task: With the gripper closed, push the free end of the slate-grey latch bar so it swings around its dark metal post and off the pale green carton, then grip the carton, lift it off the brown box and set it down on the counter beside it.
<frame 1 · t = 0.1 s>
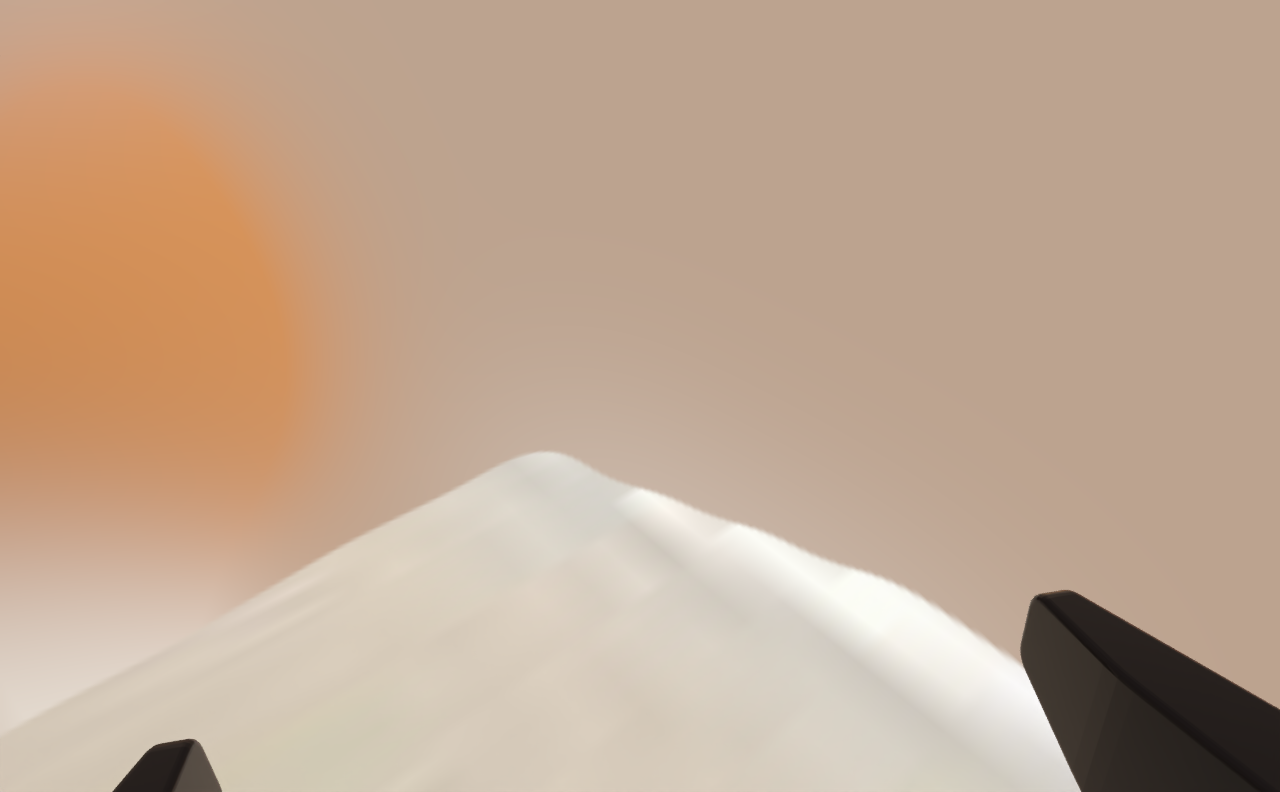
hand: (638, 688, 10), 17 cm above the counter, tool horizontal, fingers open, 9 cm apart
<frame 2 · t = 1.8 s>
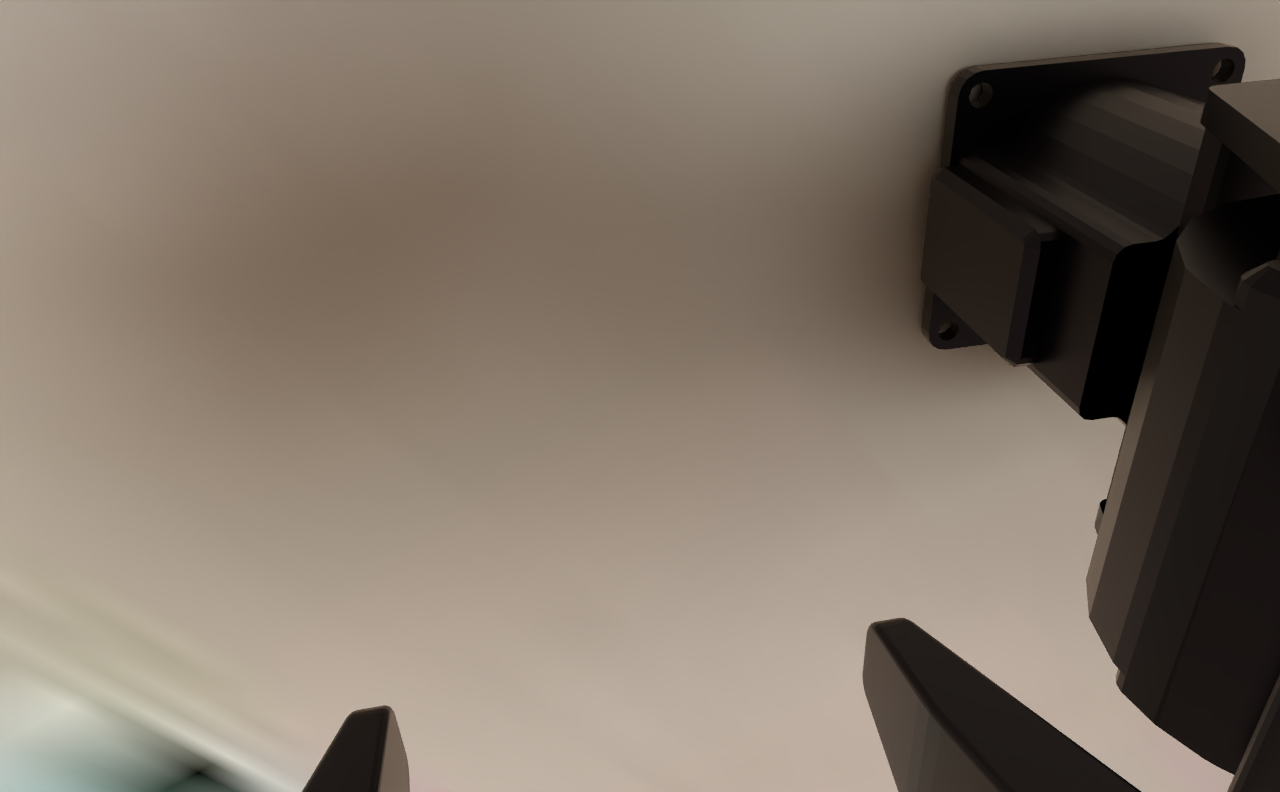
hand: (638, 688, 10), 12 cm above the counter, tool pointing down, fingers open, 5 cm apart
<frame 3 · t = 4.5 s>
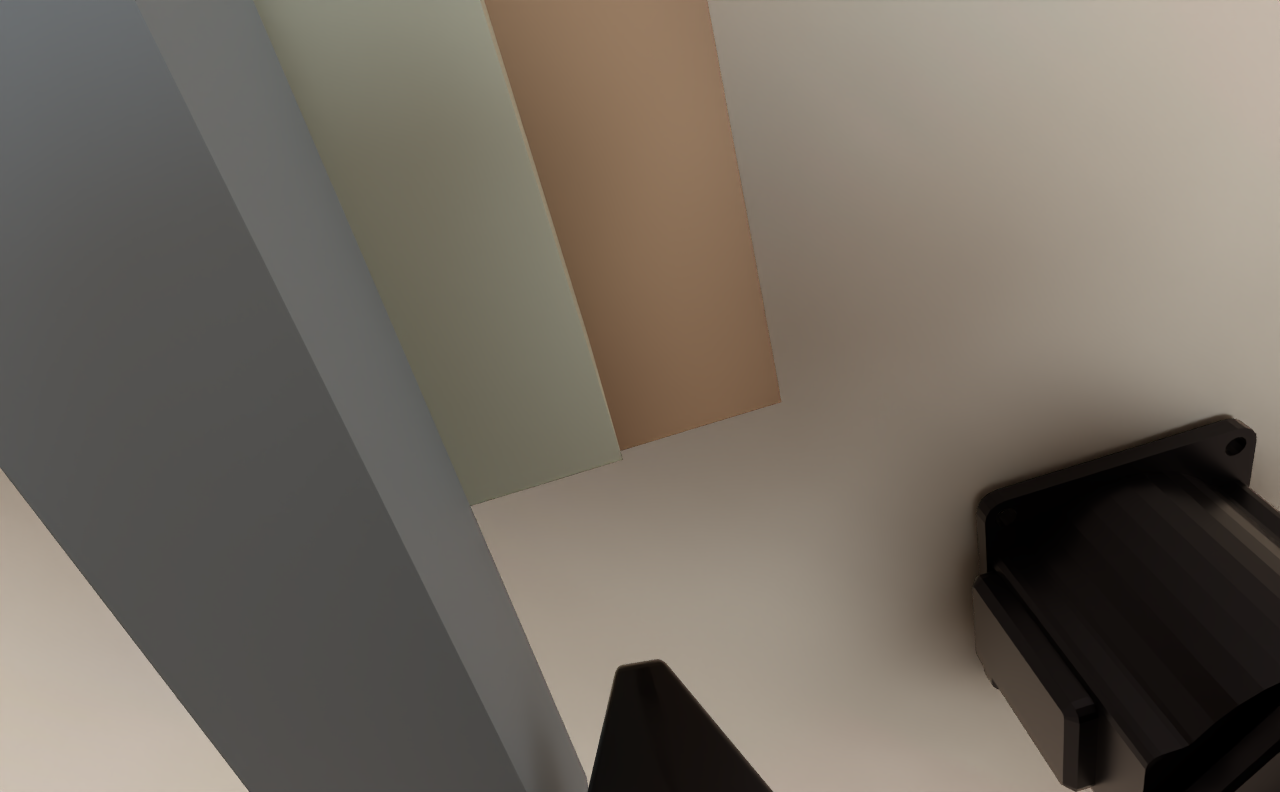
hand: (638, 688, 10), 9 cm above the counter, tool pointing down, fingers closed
pale green carton: (325, 187, 11), point 4 cm above the counter, touching brown box
brown box: (353, 106, 15), on the counter
latch bar: (74, 99, 6), point 9 cm above the counter, hinge at 0.4°, touching gripper
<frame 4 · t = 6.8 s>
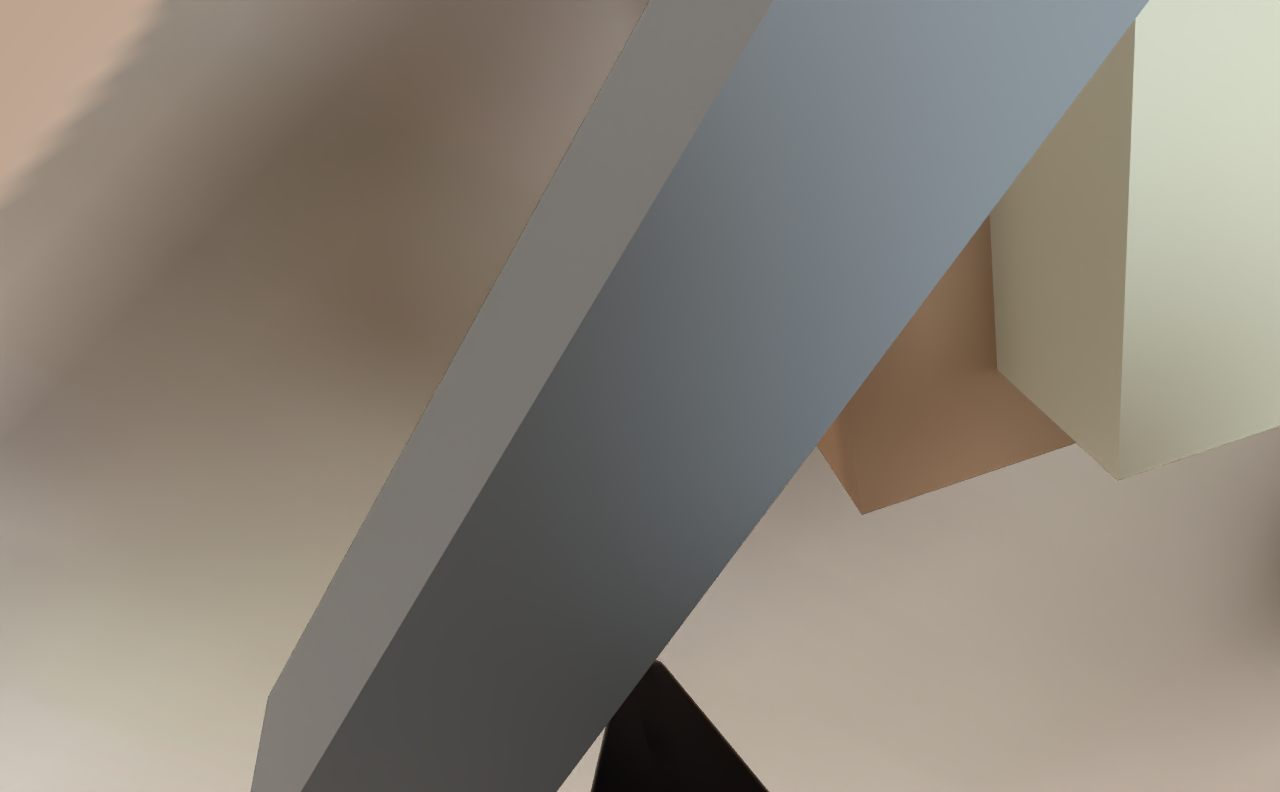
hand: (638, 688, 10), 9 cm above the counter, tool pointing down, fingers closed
pale green carton: (1155, 137, 13), point 4 cm above the counter, touching brown box
brown box: (1005, 77, 16), on the counter
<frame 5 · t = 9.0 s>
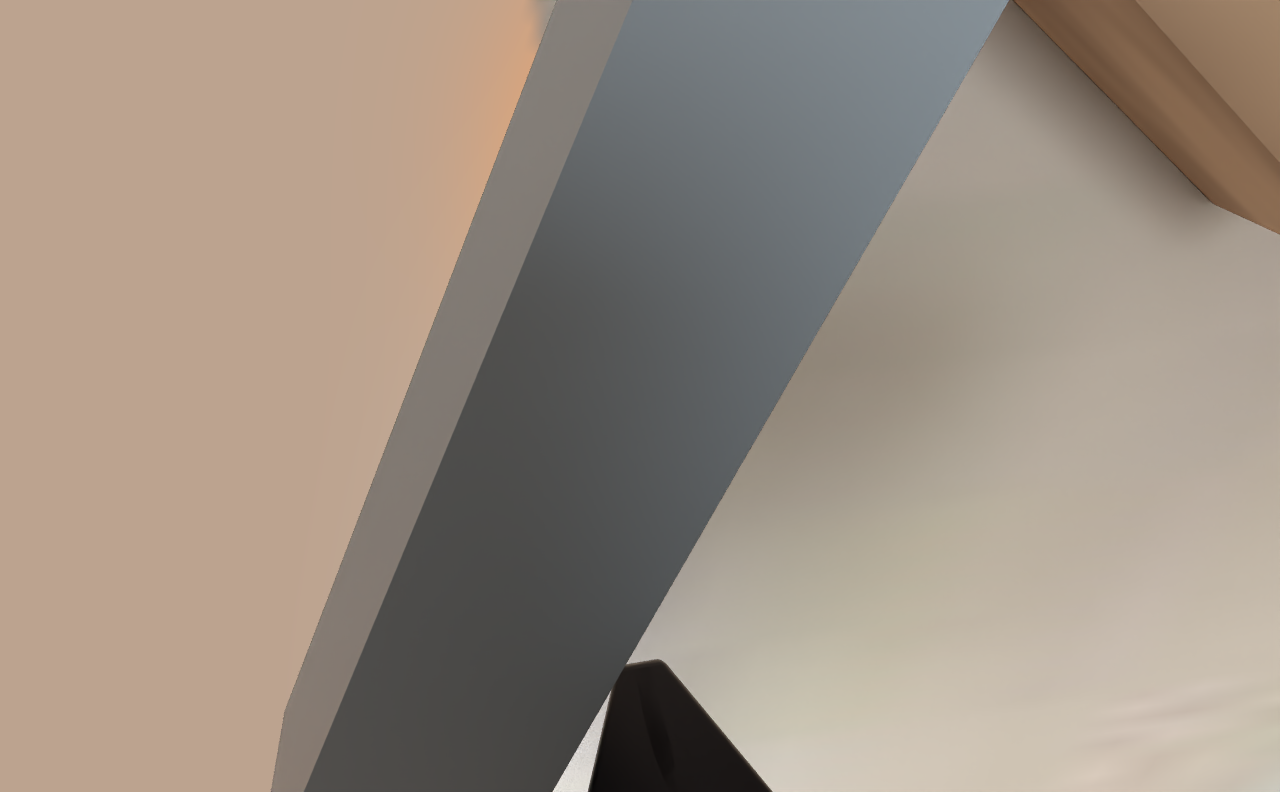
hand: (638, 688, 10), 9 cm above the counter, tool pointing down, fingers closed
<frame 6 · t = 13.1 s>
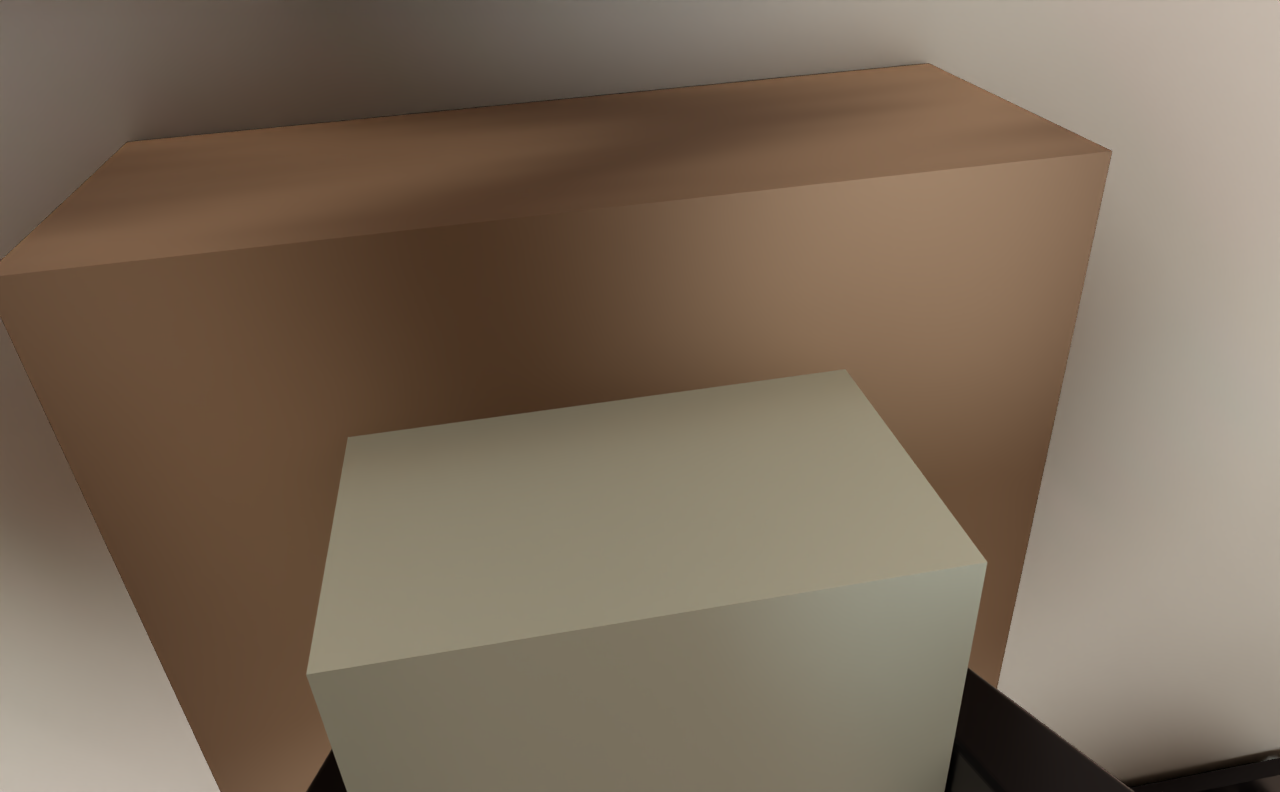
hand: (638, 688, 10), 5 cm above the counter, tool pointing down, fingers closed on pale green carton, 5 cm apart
pale green carton: (623, 620, 11), point 4 cm above the counter, touching gripper, brown box
brown box: (583, 433, 14), on the counter
when the fingers open (2 cm above the counter, at t = 18.5 s): pale green carton drops 2 cm, on the counter.
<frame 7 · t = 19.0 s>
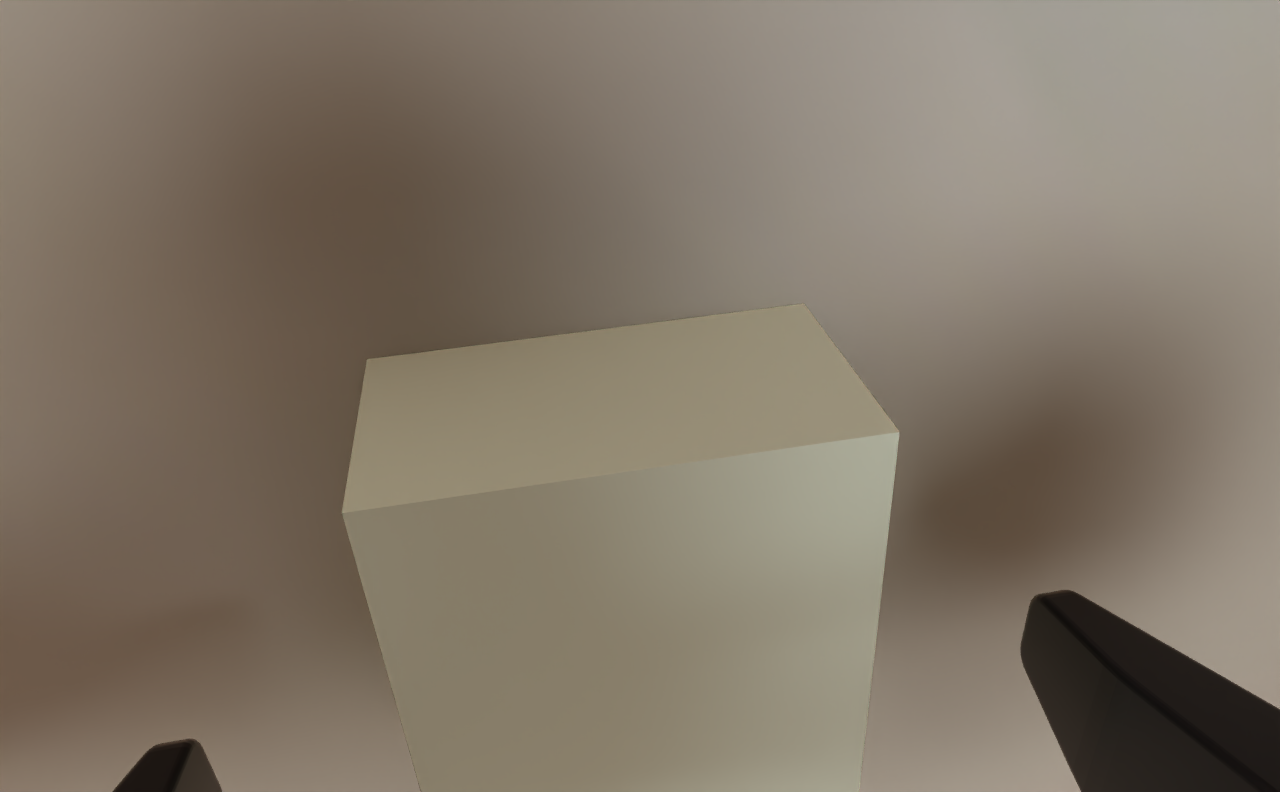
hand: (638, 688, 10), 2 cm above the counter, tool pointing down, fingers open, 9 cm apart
pale green carton: (607, 522, 12), on the counter
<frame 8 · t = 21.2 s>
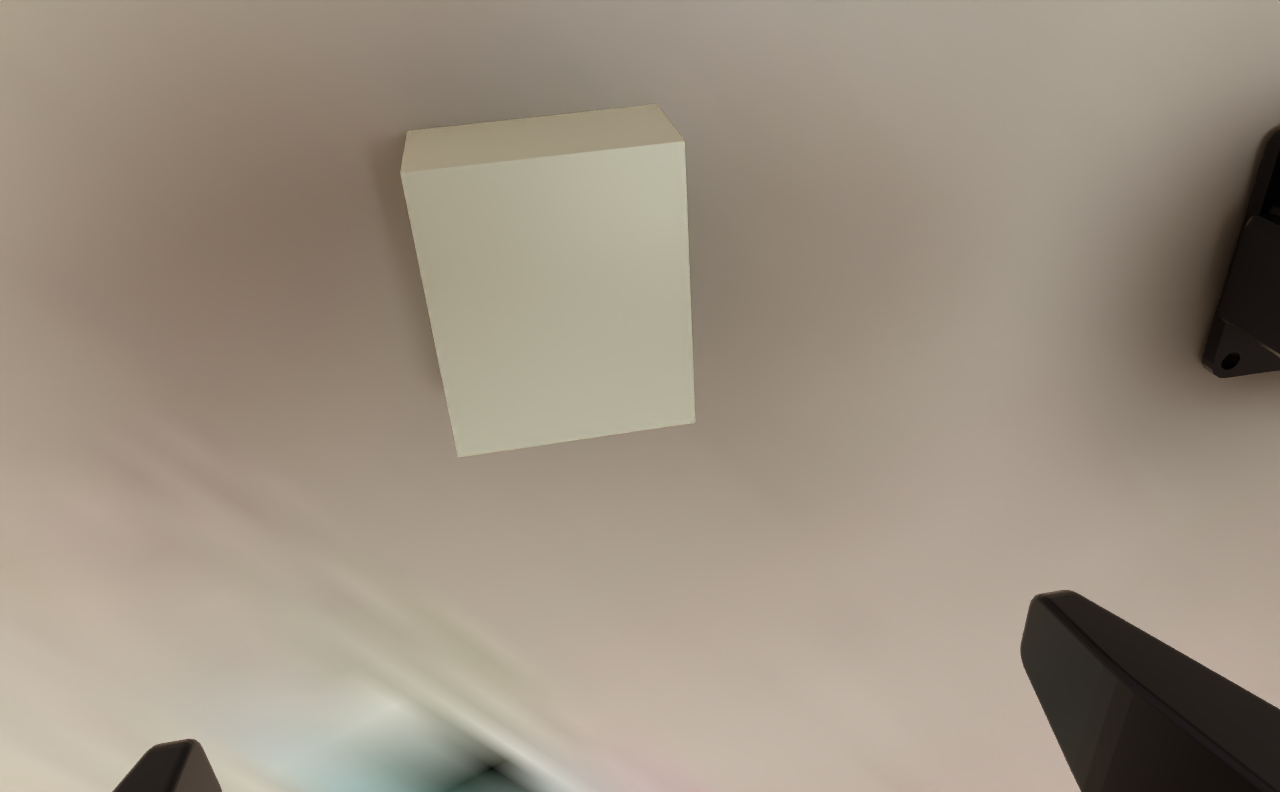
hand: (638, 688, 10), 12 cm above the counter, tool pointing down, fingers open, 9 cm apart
pale green carton: (549, 252, 20), on the counter
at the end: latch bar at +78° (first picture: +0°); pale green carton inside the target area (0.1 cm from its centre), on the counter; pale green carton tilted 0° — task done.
